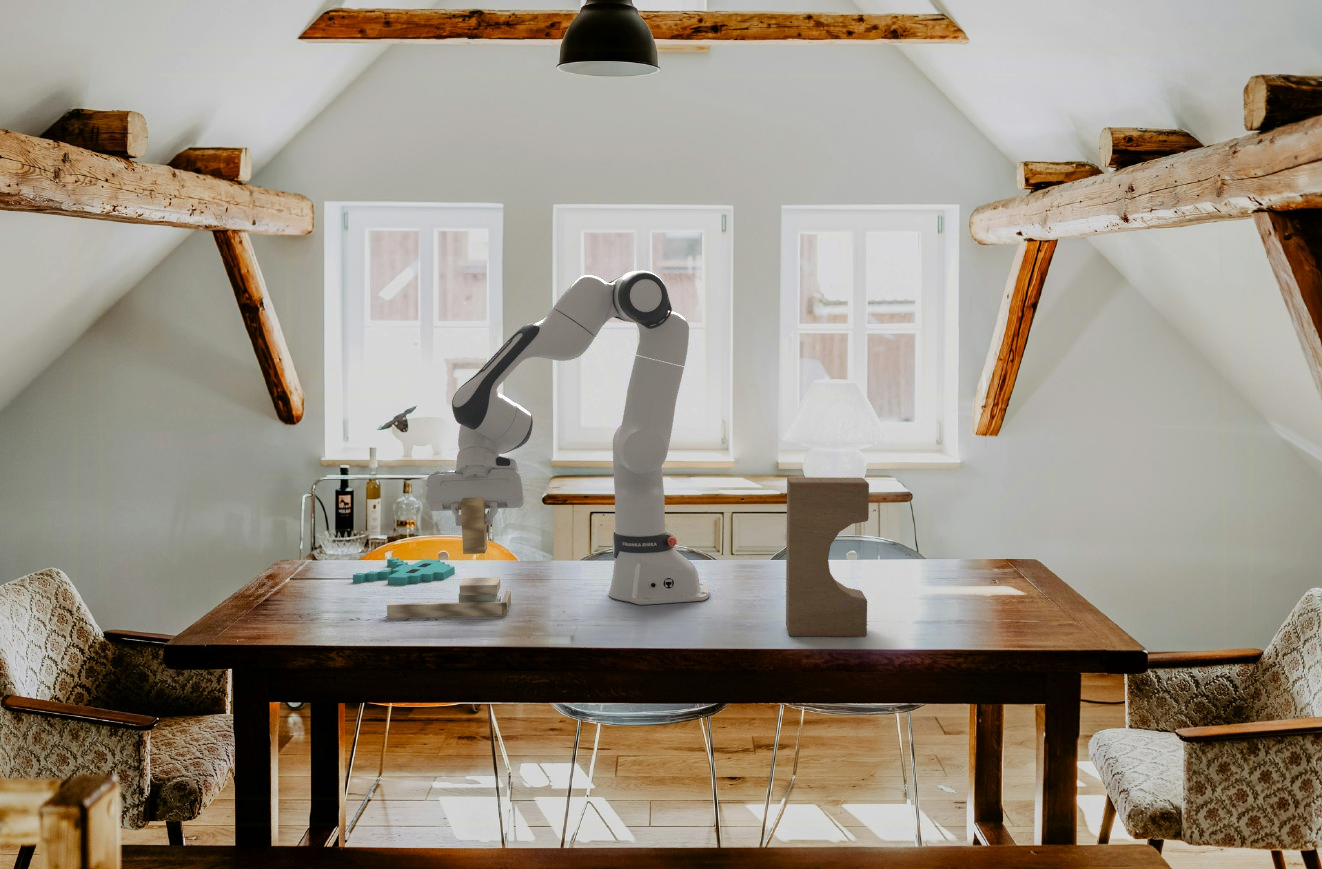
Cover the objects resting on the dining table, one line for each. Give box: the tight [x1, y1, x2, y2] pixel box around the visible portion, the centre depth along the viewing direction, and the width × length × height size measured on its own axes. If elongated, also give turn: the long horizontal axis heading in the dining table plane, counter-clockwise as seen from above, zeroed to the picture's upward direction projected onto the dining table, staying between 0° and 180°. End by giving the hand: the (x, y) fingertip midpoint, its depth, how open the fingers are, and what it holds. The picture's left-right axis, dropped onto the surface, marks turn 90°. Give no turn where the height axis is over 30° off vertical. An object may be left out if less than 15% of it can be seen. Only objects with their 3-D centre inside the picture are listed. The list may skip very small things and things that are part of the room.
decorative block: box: [785, 476, 870, 638], centre depth 203 cm, size 15×8×30 cm, turn 87°
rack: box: [386, 590, 512, 619], centre depth 216 cm, size 24×10×4 cm, turn 93°
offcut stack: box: [458, 576, 502, 603], centre depth 217 cm, size 8×7×6 cm
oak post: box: [460, 497, 488, 555], centre depth 215 cm, size 4×4×11 cm
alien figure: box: [352, 557, 456, 586], centre depth 254 cm, size 20×2×20 cm
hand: (473, 523), depth 215 cm, fingers closed on oak post, 4 cm apart
